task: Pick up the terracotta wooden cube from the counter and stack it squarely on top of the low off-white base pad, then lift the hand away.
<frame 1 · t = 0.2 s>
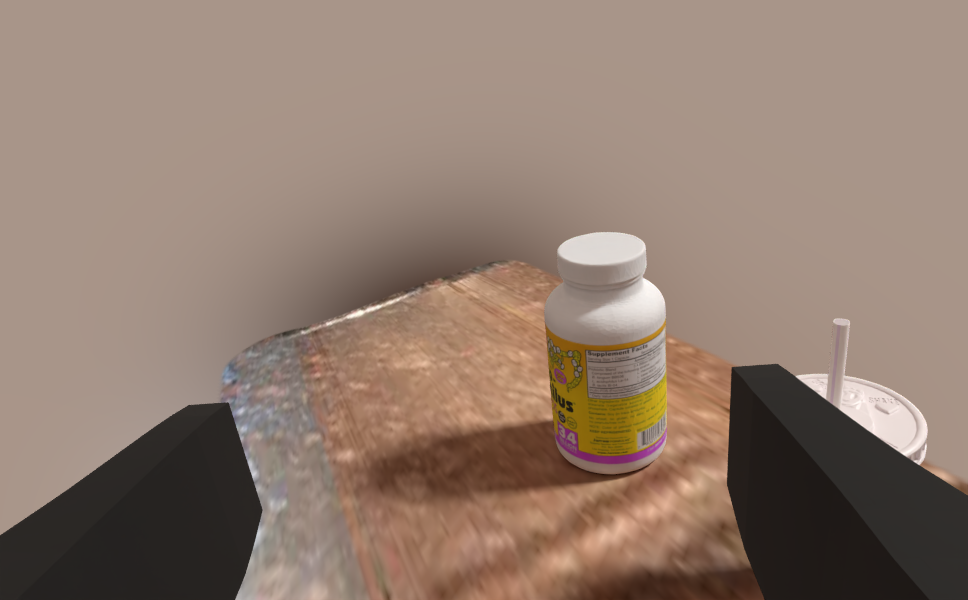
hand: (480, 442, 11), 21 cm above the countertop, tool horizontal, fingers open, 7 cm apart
smoothie: (817, 596, 34), on the countertop
supplement bottle: (610, 447, 45), on the countertop
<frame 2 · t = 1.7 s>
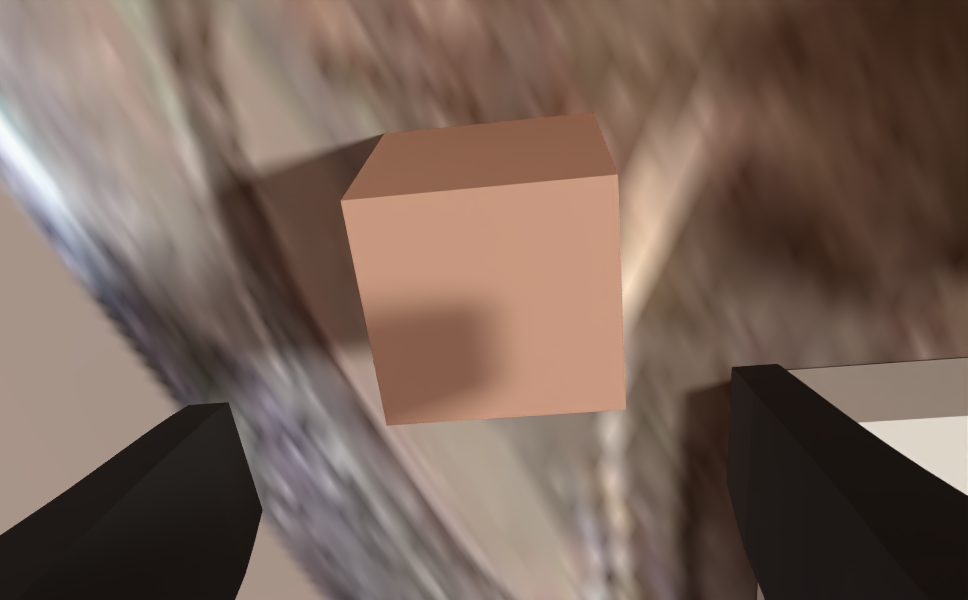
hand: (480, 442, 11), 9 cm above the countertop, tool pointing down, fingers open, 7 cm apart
terracotta cube: (498, 220, 19), on the countertop
base pad: (936, 502, 22), on the countertop
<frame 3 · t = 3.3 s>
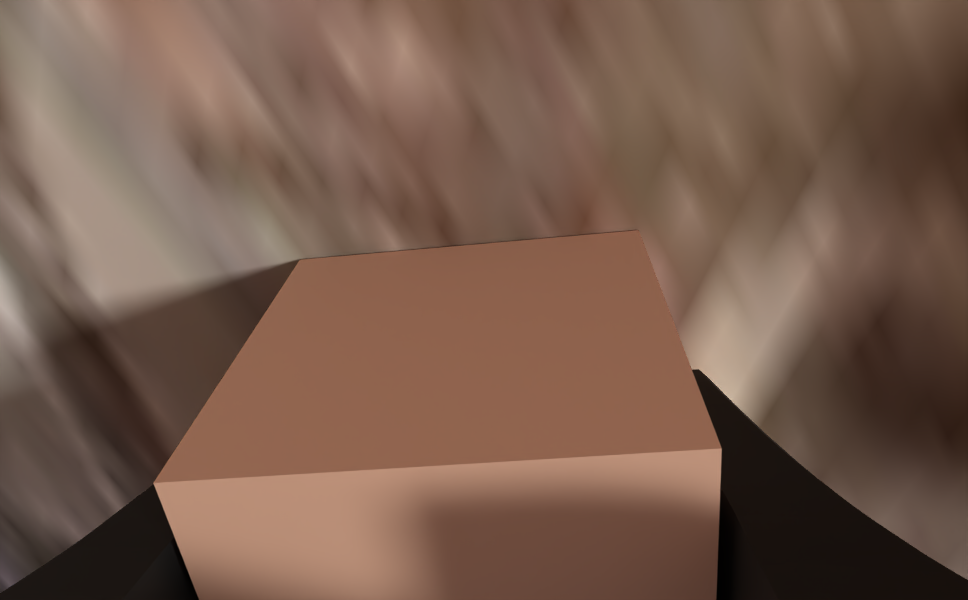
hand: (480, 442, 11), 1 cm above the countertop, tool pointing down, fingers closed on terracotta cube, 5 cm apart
terracotta cube: (484, 388, 12), on the countertop, touching gripper
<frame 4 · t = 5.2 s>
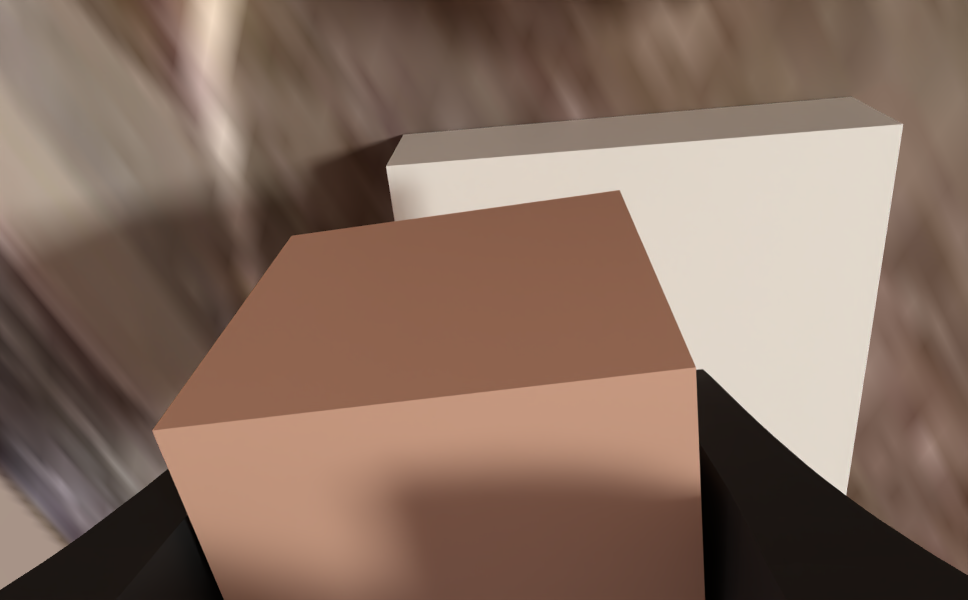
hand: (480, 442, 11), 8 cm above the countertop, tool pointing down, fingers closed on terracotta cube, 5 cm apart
terracotta cube: (478, 356, 12), point 7 cm above the countertop, touching gripper
base pad: (624, 312, 19), on the countertop
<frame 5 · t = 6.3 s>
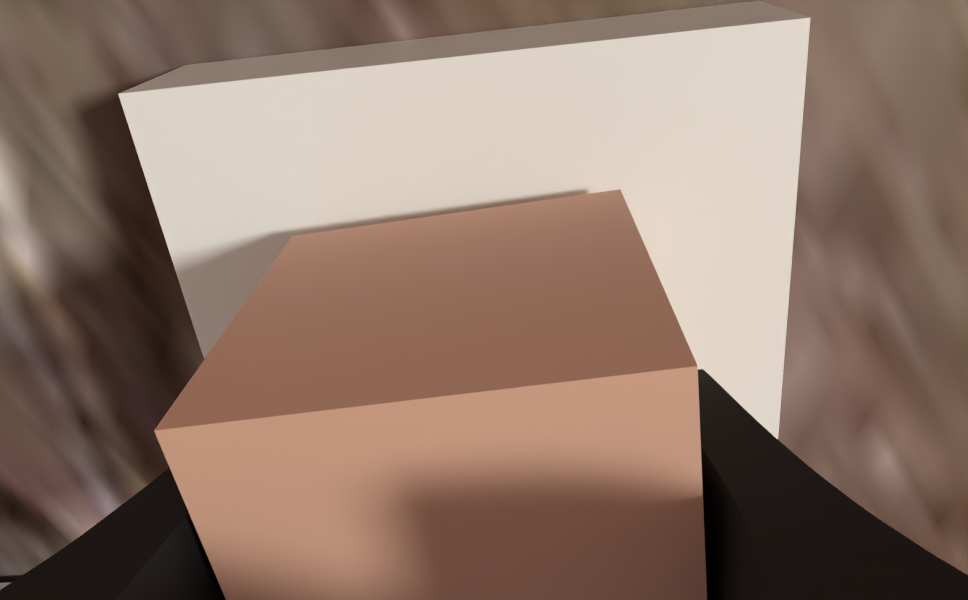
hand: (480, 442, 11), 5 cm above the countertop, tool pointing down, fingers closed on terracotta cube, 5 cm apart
terracotta cube: (479, 355, 12), point 3 cm above the countertop, touching gripper
base pad: (492, 292, 15), on the countertop
when the fingers open (5 cm above the countertop, at t = 7.1 s): terracotta cube stays where it is, resting on base pad.
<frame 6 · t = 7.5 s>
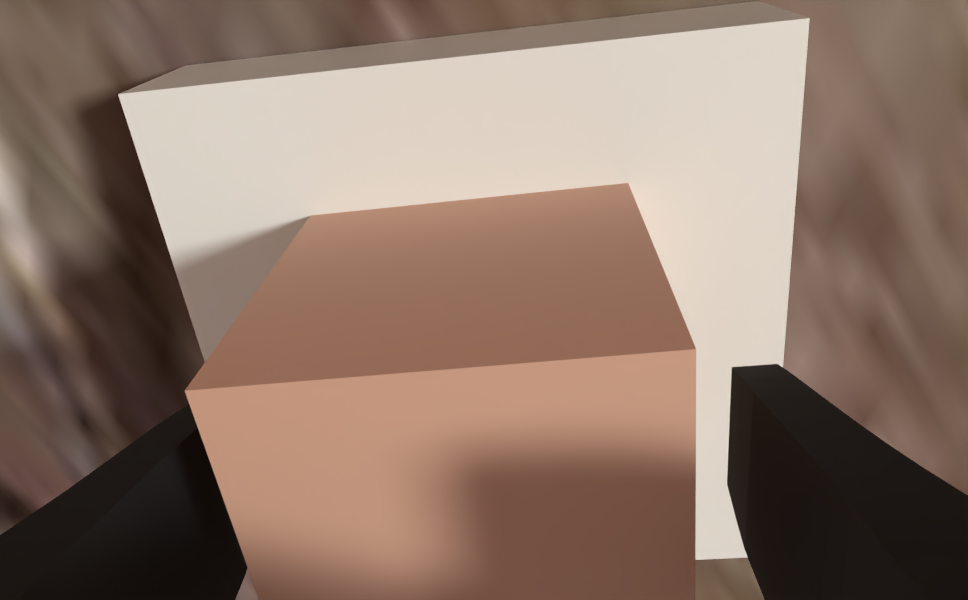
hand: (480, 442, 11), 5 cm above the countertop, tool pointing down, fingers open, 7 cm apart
terracotta cube: (485, 338, 13), point 2 cm above the countertop, touching base pad
base pad: (492, 292, 15), on the countertop
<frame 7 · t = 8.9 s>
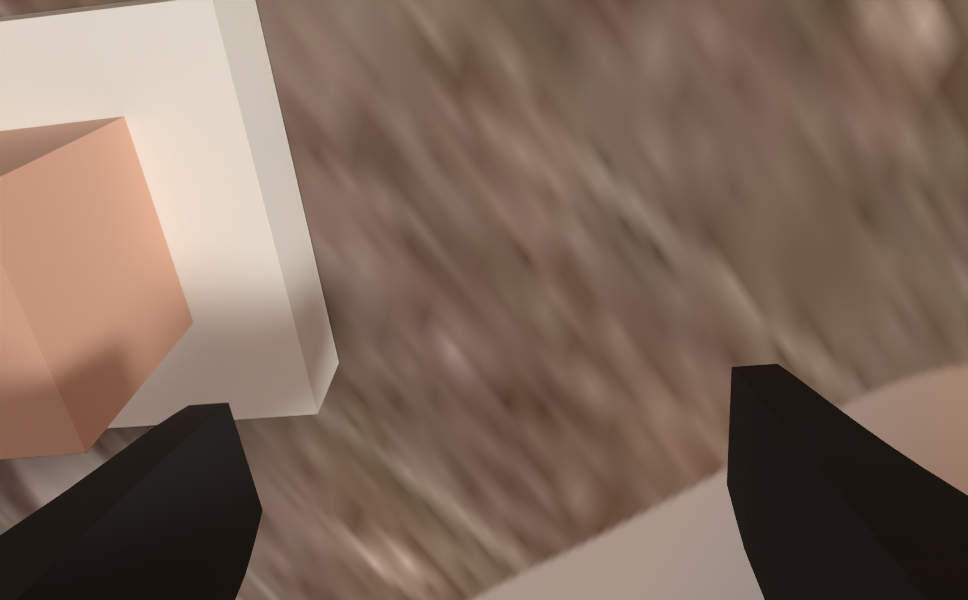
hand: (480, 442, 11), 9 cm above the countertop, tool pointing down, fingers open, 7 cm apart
terracotta cube: (57, 236, 17), point 2 cm above the countertop, touching base pad
base pad: (115, 213, 20), on the countertop
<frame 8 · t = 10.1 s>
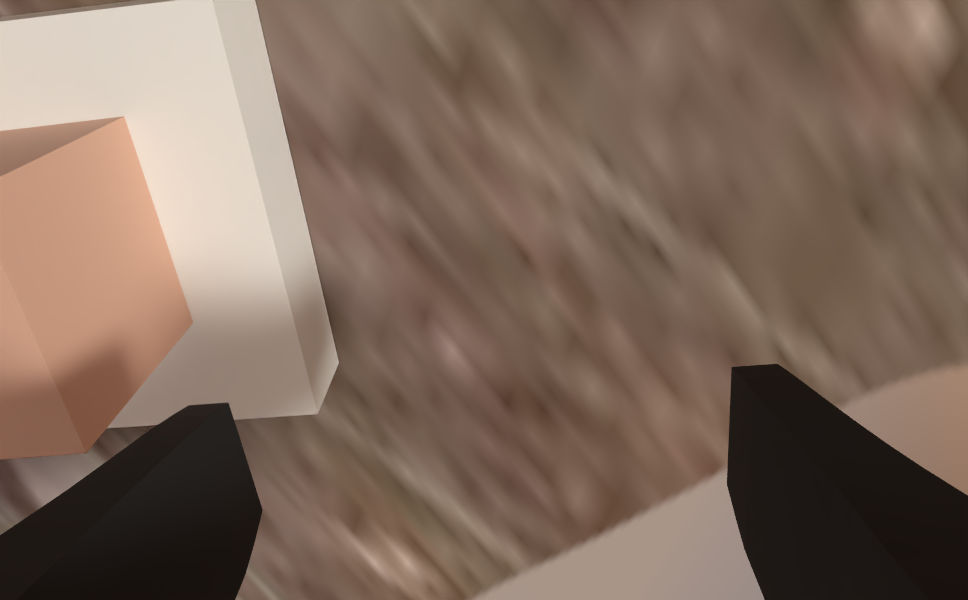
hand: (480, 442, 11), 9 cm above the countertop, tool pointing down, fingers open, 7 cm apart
terracotta cube: (57, 236, 17), point 2 cm above the countertop, touching base pad
base pad: (115, 213, 20), on the countertop
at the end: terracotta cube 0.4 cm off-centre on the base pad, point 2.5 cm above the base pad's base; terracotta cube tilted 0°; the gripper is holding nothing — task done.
